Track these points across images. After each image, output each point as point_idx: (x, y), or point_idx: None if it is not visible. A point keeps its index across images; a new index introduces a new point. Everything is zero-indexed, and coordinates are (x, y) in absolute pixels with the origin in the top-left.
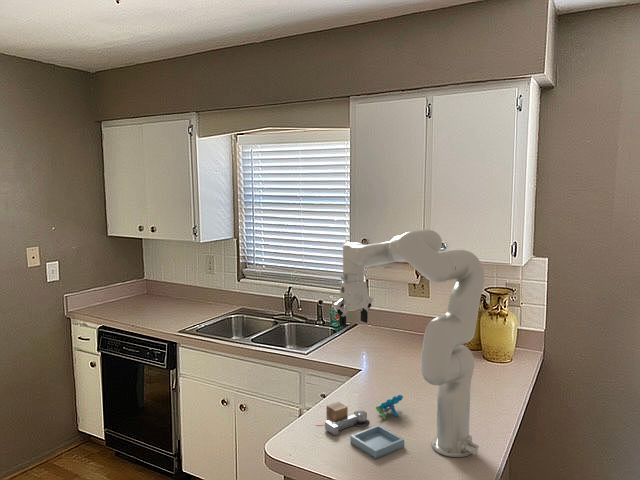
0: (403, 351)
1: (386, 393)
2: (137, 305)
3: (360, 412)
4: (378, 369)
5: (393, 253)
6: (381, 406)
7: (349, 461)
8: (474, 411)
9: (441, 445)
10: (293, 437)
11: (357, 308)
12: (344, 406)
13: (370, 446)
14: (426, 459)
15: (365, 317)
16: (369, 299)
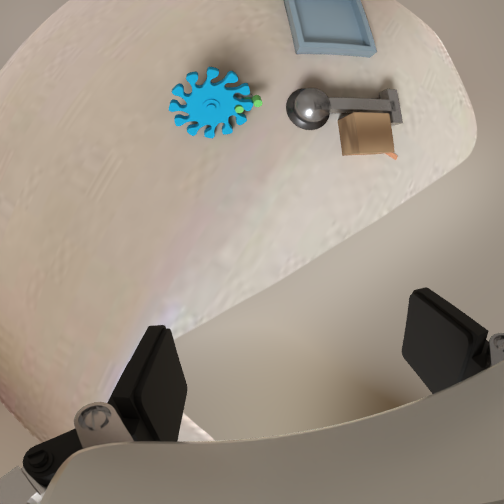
0: (38, 383)
1: (151, 219)
2: None
3: (310, 108)
4: (106, 349)
5: None
6: (243, 100)
7: (393, 24)
8: (58, 61)
9: None
10: (444, 144)
11: (405, 418)
12: (359, 119)
13: (359, 6)
14: None
15: (157, 360)
16: None
